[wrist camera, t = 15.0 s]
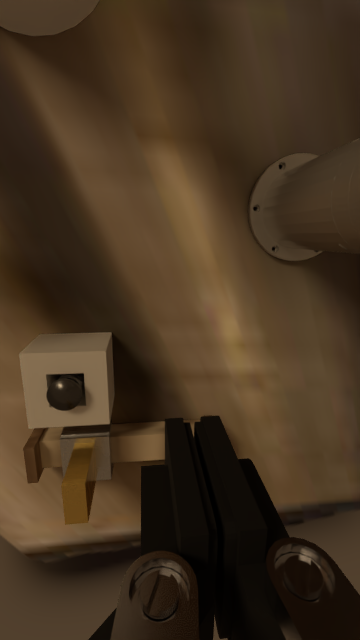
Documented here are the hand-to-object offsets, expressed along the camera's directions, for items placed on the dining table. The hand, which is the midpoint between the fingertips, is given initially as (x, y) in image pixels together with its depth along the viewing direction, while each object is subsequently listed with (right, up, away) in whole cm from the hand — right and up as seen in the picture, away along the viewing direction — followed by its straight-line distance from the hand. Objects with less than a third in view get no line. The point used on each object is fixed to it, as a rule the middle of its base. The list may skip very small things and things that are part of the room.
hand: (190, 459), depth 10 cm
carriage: (-13, -12, +35) cm, 39 cm away
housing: (-14, -2, +32) cm, 35 cm away
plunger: (-14, -2, +31) cm, 34 cm away
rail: (-8, -12, +36) cm, 39 cm away
